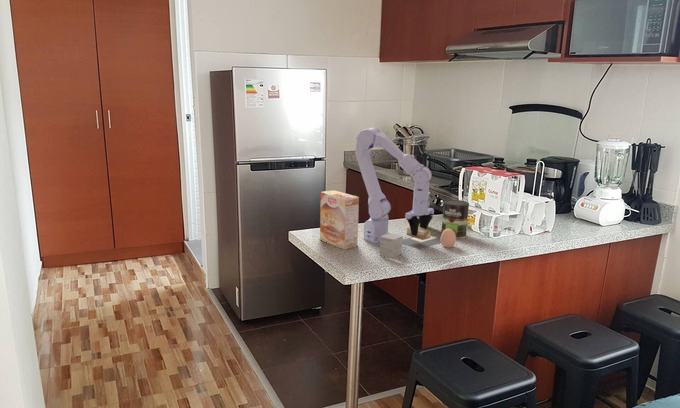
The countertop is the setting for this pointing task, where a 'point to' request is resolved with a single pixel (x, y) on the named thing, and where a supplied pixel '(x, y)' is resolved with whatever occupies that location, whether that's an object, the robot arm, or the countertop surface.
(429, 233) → the card box
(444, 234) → the egg
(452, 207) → the coffee can
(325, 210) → the coffeecake box
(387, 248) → the product box
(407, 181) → the countertop surface
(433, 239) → the mat
